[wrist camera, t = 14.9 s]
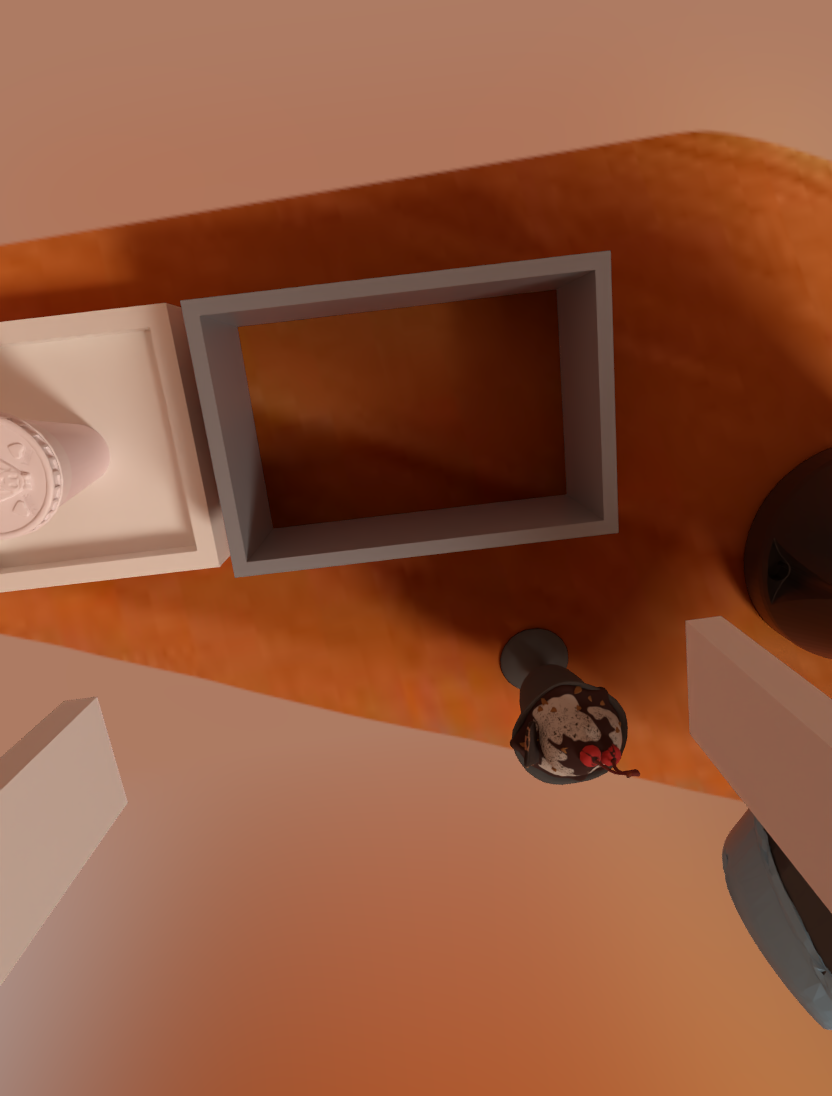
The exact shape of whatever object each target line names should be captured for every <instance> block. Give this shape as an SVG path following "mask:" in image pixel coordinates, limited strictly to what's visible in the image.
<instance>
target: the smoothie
mask: <svg viewBox="0 0 832 1096" xmlns="http://www.w3.org/2000/svg"><path fill="white" fill-rule="evenodd" d="M109 462H110V452H109V448H108V445H107V443H106V441H105V440H104V438H103V437H102V436H101V435H100V434H99V433H98V432H97V431H95V430H94V429H92V428H90V427H88V426H85V425H80V424H69V423H57V422H46V421H34V420H23V419H20V418H17V417H15V416H13V415H11V414H7V413H2V412H0V540H6V539H12V538H16V537H19V536H23V535H26V534H29V533H32V532H34V531H36V530H38V529H39V528H41V527H42V526H44V525H45V524H46V523H48V522H49V521H50V519H51V518H52V517H53V515H54V514H55V513H56V512H57V510H58V508H59V507H60V506H61V505H63V504H64V503H65V502H67V501H68V500H69V499H71V498H72V497H74V496H75V495H76V494H78V493H79V492H81V491H82V490H83V489H85V488H86V487H88V486H89V485H90V484H92V483H93V482H95V481H96V480H97V479H99V478H100V477H101V476H102V475H103V474H104V473H105V472H106V470H107V469H108V466H109Z"/></svg>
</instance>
